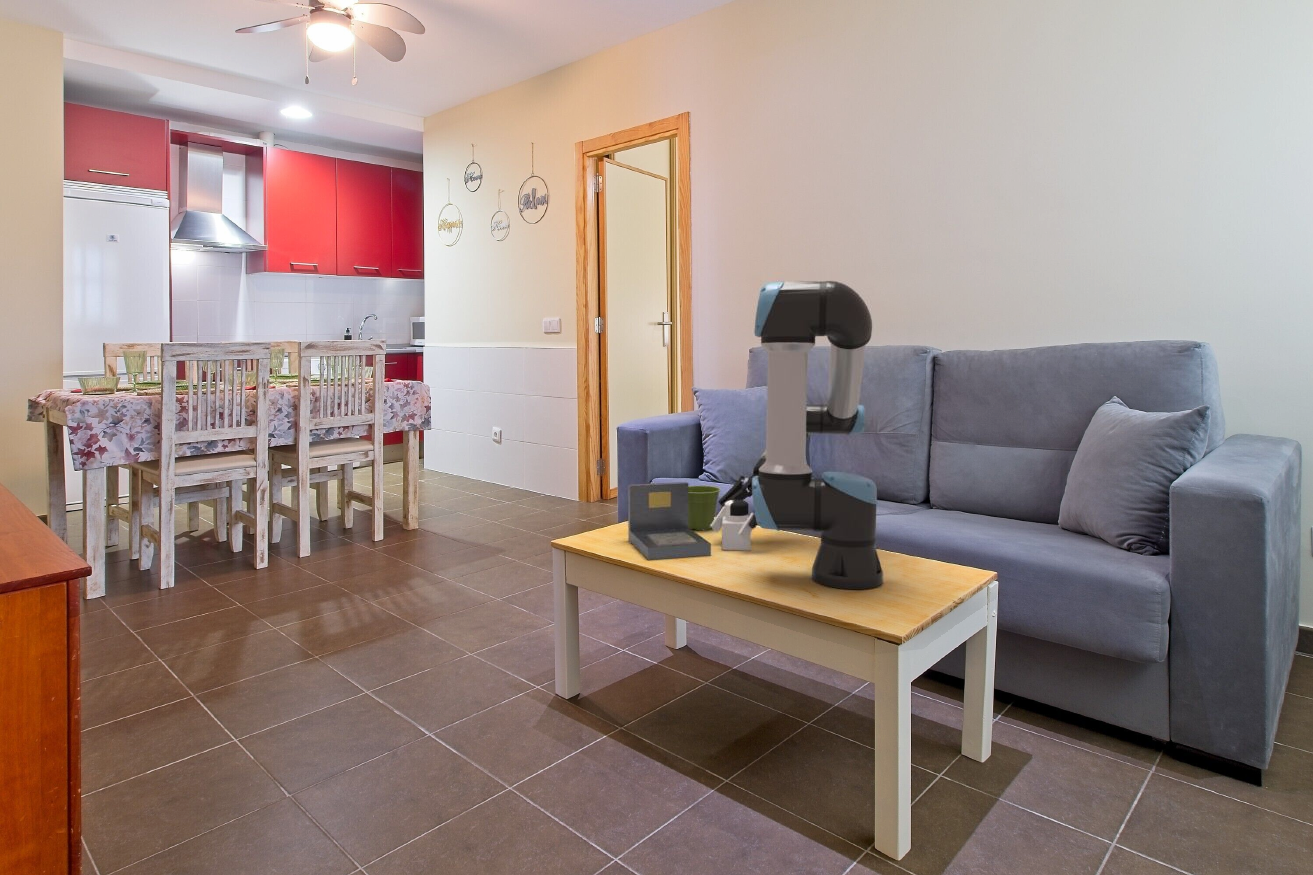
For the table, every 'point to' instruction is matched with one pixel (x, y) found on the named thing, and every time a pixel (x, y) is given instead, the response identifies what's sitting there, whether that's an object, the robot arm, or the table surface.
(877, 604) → the table surface
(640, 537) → the bookend
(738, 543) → the medicine bottle
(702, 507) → the plant pot
